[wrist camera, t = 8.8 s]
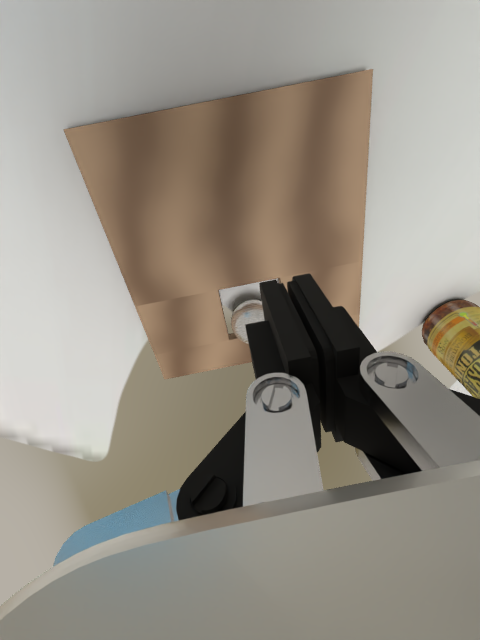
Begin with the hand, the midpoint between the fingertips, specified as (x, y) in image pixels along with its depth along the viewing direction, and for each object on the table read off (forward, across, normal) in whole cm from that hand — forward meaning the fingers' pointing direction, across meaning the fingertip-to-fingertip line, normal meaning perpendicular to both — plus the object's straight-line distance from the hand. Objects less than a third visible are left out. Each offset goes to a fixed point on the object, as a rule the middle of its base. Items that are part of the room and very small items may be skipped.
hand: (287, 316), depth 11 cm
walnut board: (+16, 0, +4) cm, 17 cm away
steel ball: (+14, 0, +10) cm, 17 cm away
